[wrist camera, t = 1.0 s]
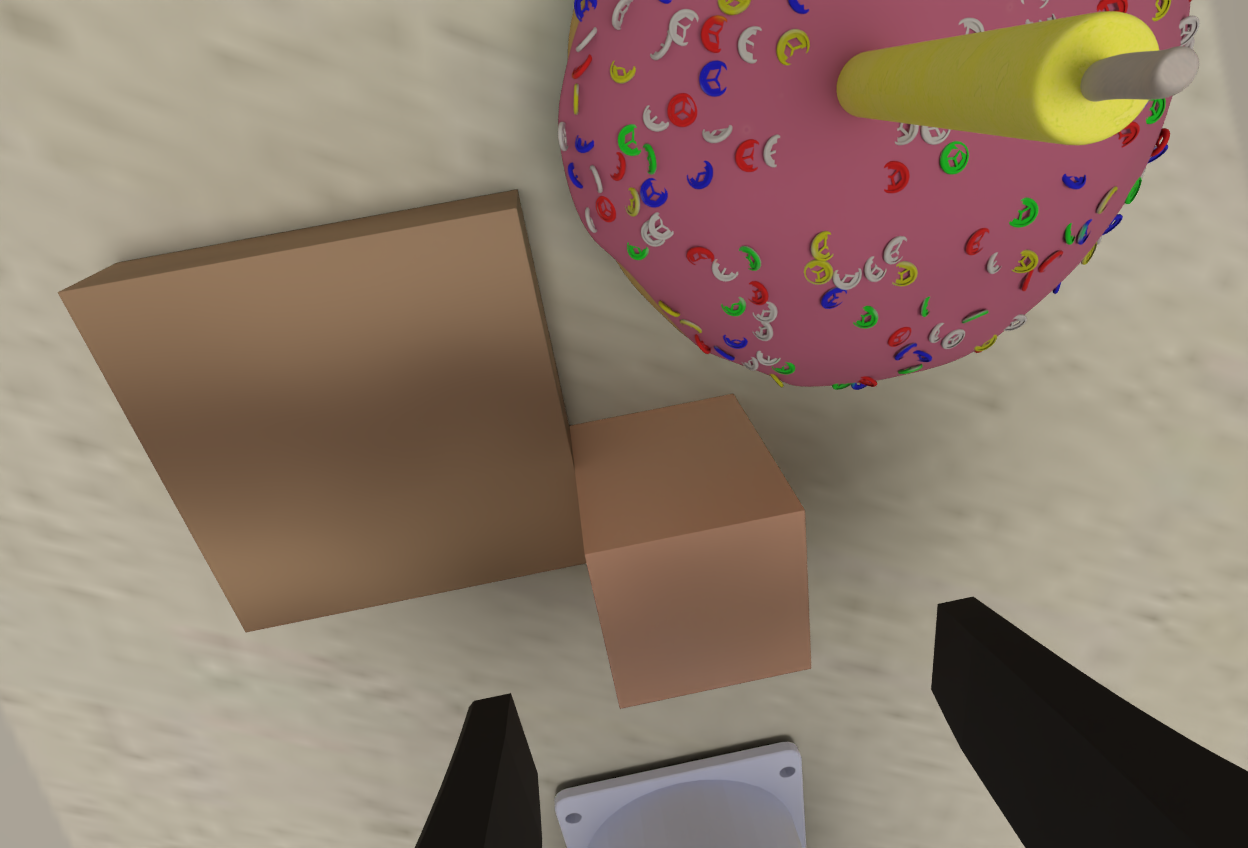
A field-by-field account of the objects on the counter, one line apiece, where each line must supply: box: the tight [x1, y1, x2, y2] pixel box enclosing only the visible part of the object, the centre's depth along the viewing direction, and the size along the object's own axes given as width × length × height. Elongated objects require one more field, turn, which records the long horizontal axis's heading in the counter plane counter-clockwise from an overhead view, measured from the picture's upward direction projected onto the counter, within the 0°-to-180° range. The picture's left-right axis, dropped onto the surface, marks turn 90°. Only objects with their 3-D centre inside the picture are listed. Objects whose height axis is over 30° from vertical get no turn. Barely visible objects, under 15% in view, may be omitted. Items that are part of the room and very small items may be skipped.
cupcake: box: [558, 0, 1199, 390], centre depth 9 cm, size 9×8×12 cm
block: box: [570, 394, 811, 709], centre depth 16 cm, size 4×4×5 cm
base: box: [58, 189, 586, 632], centre depth 15 cm, size 8×8×2 cm
